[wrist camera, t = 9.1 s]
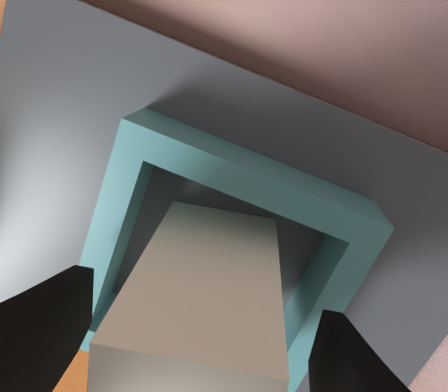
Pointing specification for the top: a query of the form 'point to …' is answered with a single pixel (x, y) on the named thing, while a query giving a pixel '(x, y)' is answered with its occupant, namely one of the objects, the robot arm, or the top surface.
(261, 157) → the organizer
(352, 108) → the top surface
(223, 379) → the cream block
